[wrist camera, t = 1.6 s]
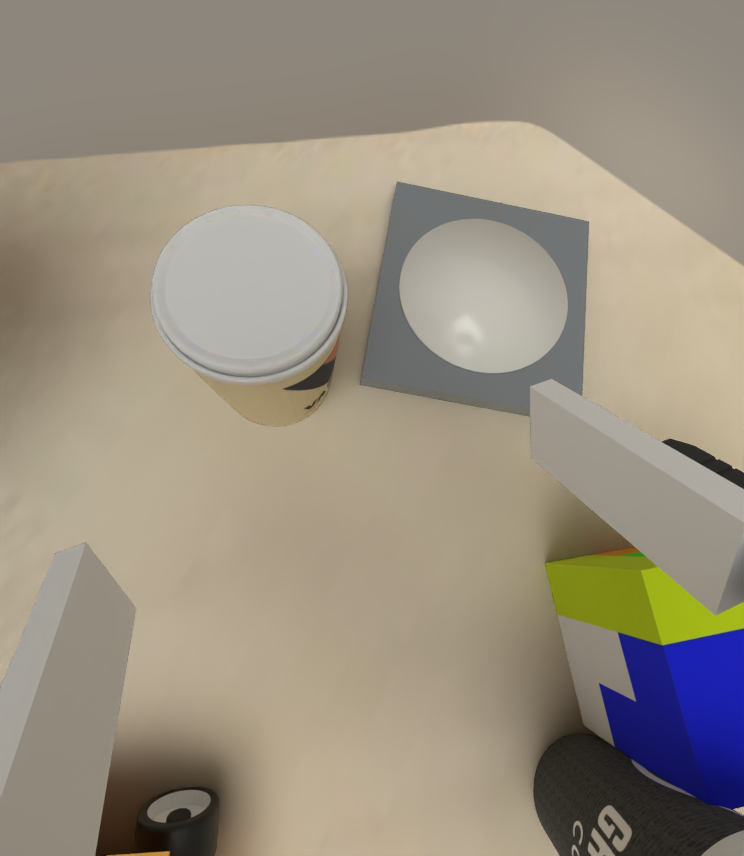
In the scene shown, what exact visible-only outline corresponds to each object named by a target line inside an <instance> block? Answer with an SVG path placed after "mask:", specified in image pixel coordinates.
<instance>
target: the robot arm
mask: <svg viewBox="0 0 744 856" xmlns="http://www.w3.org/2000/svg"><path fill="white" fill-rule="evenodd" d="M530 436H531V458H532V459H533V460H534V461H535V462H536V463H537V464H539V465H540V466H541V467H542V468H543V469H544V470H546V471H547V472H548V473H549V474H550V475H551V476H553V477H554V478H555V479H556V480H557V481H558V482H560V483H561V484H562V485H563V486H564V487H565V488H567V489H568V490H569V491H570V492H571V493H572V494H574V495H575V496H576V497H577V498H578V499H579V500H581V501H582V502H583V503H584V504H585V505H586V506H588V507H589V508H590V509H591V510H592V511H593V512H595V513H596V514H597V515H598V516H599V517H600V518H602V519H603V520H604V521H605V522H606V523H607V524H609V525H610V526H611V527H612V528H613V529H614V530H616V531H617V532H618V533H619V534H620V535H622V536H623V537H624V538H625V539H626V540H627V541H629V542H630V543H631V544H632V545H633V546H634V547H636V548H637V549H638V550H639V551H640V552H641V553H643V554H644V555H645V556H646V557H647V558H648V559H650V560H651V561H652V562H653V563H654V564H655V565H657V566H658V567H659V568H660V569H661V570H662V571H664V572H665V573H666V574H667V575H668V576H669V577H671V578H672V579H673V580H674V581H675V582H676V583H678V584H679V585H680V586H681V587H682V588H683V589H685V590H686V591H687V592H688V593H689V594H690V595H692V596H693V597H694V598H695V599H696V600H697V601H699V602H700V603H701V604H702V605H703V606H705V607H706V608H707V609H708V610H709V611H710V612H712V613H713V614H714V615H715V616H716V615H718V614H720V613H722V612H724V611H726V610H728V609H730V608H732V607H734V606H736V605H738V604H740V603H743V602H744V473H743V472H742V471H740V470H738V469H733V468H732V466H730V465H729V464H727V463H725V462H723V461H721V460H716V459H715V457H714V456H712V455H710V454H708V453H707V452H705V451H703V450H701V449H699V448H697V447H696V446H693V445H690V444H686V443H683V442H679V441H676V440H673V439H668V440H665V441H663V442H661V441H659V440H657V439H655V438H654V437H652V436H650V435H648V434H647V433H645V432H643V431H641V430H640V429H638V428H636V427H635V426H633V425H631V424H629V423H628V422H626V421H624V420H622V419H621V418H619V417H617V416H615V415H614V414H612V413H610V412H608V411H607V410H605V409H603V408H601V407H600V406H598V405H596V404H594V403H593V402H591V401H589V400H588V399H586V398H584V397H582V396H581V395H579V394H577V393H575V392H574V391H572V390H570V389H568V388H567V387H565V386H563V385H561V384H560V383H558V382H556V381H554V380H553V379H550V380H547V381H544V382H541V383H538V384H536V385H533V386H530ZM135 613H136V607H135V606H134V605H133V603H132V602H131V601H130V599H129V598H128V597H127V595H126V594H125V593H124V591H123V590H122V589H121V587H120V586H119V585H118V583H117V582H116V581H115V580H114V578H113V577H112V576H111V574H110V573H109V572H108V570H107V569H106V568H105V566H104V565H103V564H102V562H101V561H100V560H99V558H98V557H97V556H96V554H95V553H94V552H93V550H92V549H91V548H90V547H89V545H88V544H87V543H83V544H80V545H77V546H74V547H71V548H69V549H66V550H63V551H60V552H57V553H55V555H54V557H53V560H52V562H51V565H50V567H49V570H48V572H47V575H46V577H45V580H44V582H43V584H42V587H41V589H40V592H39V594H38V597H37V599H36V602H35V604H34V606H33V609H32V611H31V614H30V616H29V619H28V621H27V624H26V626H25V629H24V631H23V633H22V636H21V638H20V641H19V643H18V646H17V648H16V651H15V653H14V655H13V658H12V660H11V663H10V665H9V668H8V670H7V673H6V675H5V677H4V680H3V682H2V685H1V687H0V856H95V853H96V847H97V841H98V835H99V829H100V823H101V817H102V811H103V805H104V799H105V793H106V787H107V781H108V775H109V769H110V763H111V757H112V751H113V745H114V739H115V733H116V727H117V721H118V715H119V709H120V703H121V697H122V691H123V685H124V679H125V673H126V667H127V661H128V655H129V649H130V643H131V637H132V631H133V625H134V619H135Z"/></svg>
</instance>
